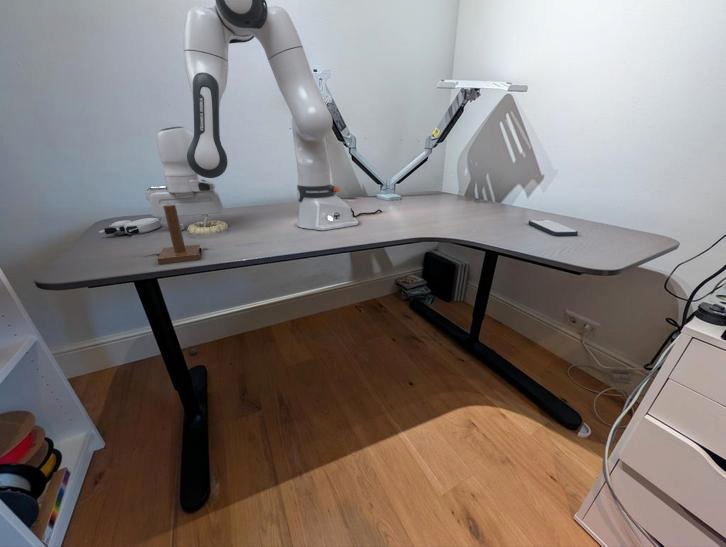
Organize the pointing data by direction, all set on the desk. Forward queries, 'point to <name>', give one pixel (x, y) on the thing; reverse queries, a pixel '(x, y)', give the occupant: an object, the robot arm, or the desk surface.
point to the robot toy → (133, 226)
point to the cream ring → (215, 227)
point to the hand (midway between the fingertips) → (192, 229)
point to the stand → (177, 241)
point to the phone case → (553, 228)
